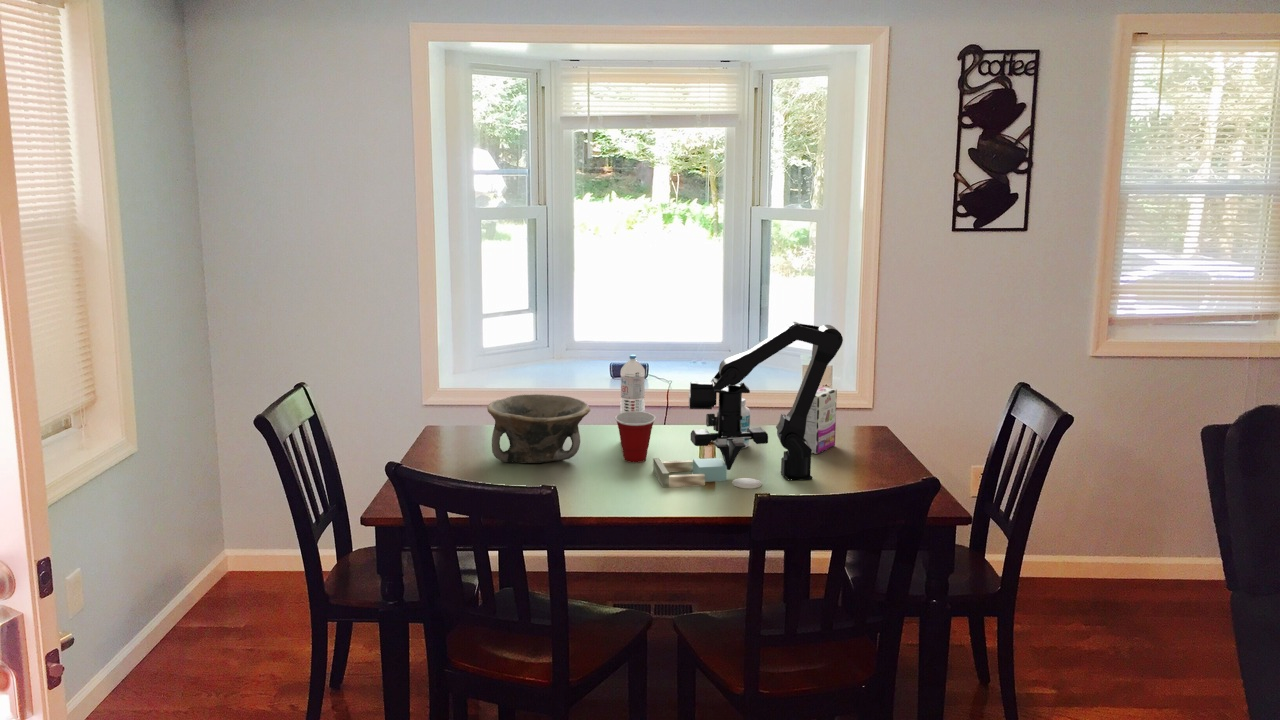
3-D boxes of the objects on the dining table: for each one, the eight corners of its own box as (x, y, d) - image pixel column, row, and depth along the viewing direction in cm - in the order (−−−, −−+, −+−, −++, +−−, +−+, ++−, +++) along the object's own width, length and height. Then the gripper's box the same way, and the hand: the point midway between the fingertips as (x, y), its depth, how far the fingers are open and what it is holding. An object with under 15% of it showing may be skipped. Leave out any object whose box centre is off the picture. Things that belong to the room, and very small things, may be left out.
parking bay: (693, 469, 251) (693, 456, 250) (704, 485, 238) (705, 471, 238) (653, 471, 249) (653, 458, 248) (662, 487, 237) (662, 473, 236)
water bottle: (644, 445, 272) (644, 357, 267) (619, 445, 272) (620, 357, 268) (644, 438, 279) (645, 353, 274) (620, 438, 279) (621, 352, 274)
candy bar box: (819, 443, 276) (821, 386, 273) (835, 446, 273) (838, 389, 270) (800, 451, 267) (802, 393, 264) (817, 455, 264) (819, 396, 261)
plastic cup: (614, 466, 253) (615, 421, 251) (614, 454, 264) (614, 411, 262) (656, 465, 254) (657, 421, 251) (654, 453, 264) (654, 410, 262)
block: (719, 472, 249) (719, 457, 248) (726, 481, 242) (726, 466, 241) (692, 474, 248) (693, 459, 247) (698, 482, 241) (699, 467, 240)
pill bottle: (736, 451, 267) (737, 403, 265) (716, 445, 273) (717, 398, 270) (754, 446, 272) (756, 399, 270) (735, 440, 278) (736, 394, 275)
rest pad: (756, 479, 244) (756, 477, 243) (764, 487, 237) (764, 486, 237) (729, 480, 242) (729, 478, 242) (736, 489, 236) (737, 487, 236)
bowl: (609, 454, 263) (609, 401, 260) (547, 480, 241) (546, 421, 239) (532, 439, 278) (531, 388, 275) (467, 461, 256) (466, 406, 253)
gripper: (757, 400, 252) (755, 458, 255) (686, 402, 249) (685, 461, 252) (769, 411, 241) (767, 471, 244) (696, 413, 238) (694, 474, 241)
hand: (728, 469), depth 246 cm, fingers closed
